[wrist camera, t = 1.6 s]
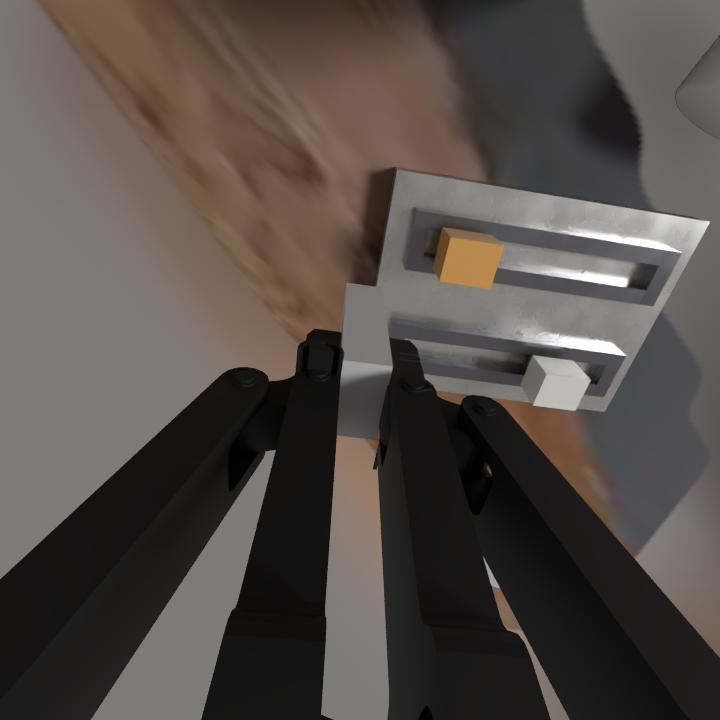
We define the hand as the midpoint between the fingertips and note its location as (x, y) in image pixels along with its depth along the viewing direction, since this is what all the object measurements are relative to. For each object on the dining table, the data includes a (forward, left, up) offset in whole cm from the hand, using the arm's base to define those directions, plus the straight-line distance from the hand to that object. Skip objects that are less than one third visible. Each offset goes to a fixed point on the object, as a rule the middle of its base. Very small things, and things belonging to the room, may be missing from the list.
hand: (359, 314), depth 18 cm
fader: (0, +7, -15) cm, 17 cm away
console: (+4, +14, -18) cm, 23 cm away
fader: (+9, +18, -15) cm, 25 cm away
